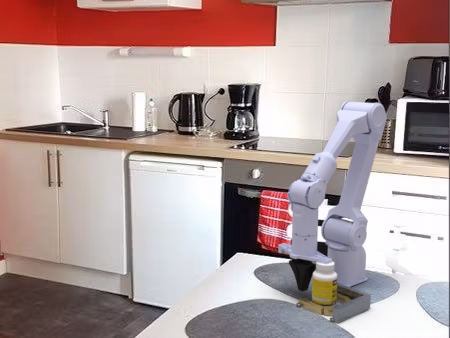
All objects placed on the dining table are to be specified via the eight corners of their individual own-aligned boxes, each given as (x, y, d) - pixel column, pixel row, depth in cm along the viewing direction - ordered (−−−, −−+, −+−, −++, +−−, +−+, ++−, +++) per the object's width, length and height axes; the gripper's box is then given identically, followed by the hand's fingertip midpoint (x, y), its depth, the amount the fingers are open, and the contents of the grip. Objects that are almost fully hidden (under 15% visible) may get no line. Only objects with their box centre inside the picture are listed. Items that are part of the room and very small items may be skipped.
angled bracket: (327, 291, 134) (327, 278, 134) (371, 308, 125) (372, 295, 124) (291, 304, 127) (292, 291, 126) (336, 324, 117) (336, 310, 117)
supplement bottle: (335, 310, 123) (337, 267, 122) (310, 308, 125) (311, 265, 123) (337, 301, 128) (338, 259, 127) (312, 299, 130) (313, 257, 128)
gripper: (269, 229, 132) (268, 284, 134) (317, 244, 121) (315, 304, 123) (290, 223, 136) (289, 277, 139) (339, 237, 125) (336, 296, 128)
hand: (303, 289), depth 131 cm, fingers closed
